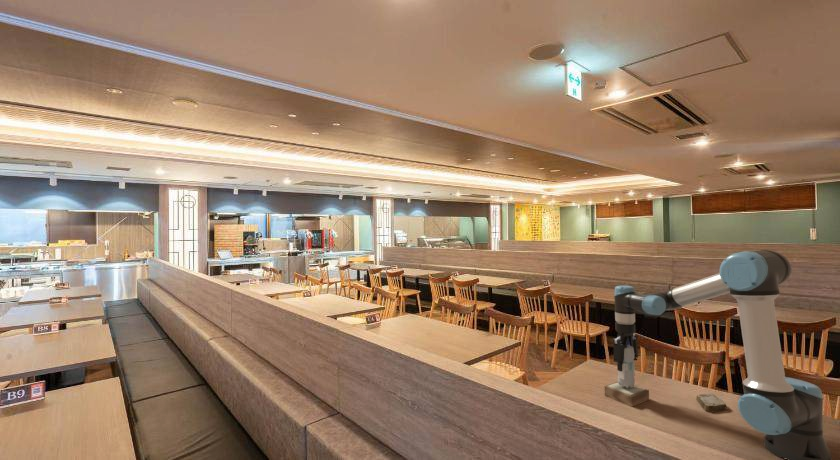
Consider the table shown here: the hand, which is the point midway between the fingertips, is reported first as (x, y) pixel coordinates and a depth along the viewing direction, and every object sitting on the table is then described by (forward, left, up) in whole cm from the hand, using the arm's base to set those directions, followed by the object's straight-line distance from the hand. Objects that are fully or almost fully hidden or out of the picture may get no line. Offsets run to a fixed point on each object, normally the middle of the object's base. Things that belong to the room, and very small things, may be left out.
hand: (626, 376), depth 160 cm
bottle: (0, 0, -4) cm, 4 cm away
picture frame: (0, 0, -9) cm, 9 cm away
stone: (-21, -22, -10) cm, 32 cm away
